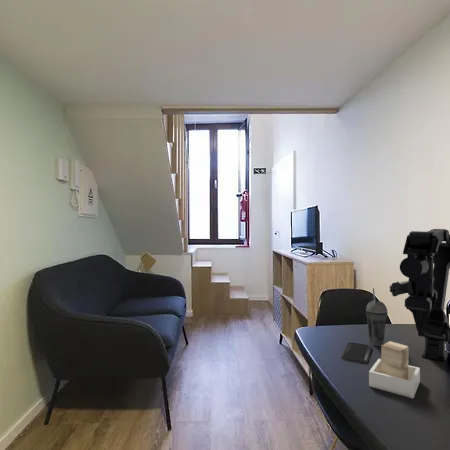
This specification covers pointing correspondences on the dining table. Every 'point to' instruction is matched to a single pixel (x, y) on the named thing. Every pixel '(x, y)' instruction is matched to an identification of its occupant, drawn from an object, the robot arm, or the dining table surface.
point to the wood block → (394, 360)
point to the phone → (357, 352)
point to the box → (395, 381)
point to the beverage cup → (376, 321)
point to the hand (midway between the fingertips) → (421, 326)
